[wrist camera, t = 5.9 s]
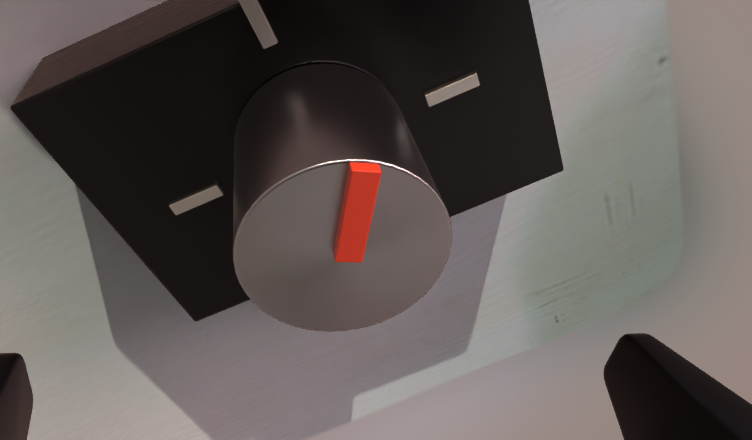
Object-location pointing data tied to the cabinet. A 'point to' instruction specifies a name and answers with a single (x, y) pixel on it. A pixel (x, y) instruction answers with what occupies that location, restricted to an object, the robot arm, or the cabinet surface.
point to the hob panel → (249, 73)
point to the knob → (333, 202)
